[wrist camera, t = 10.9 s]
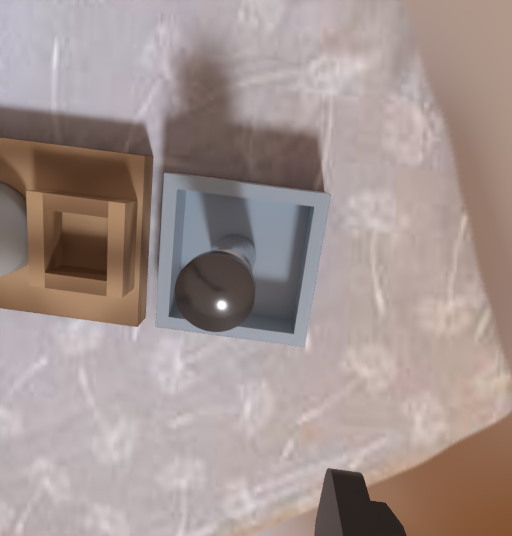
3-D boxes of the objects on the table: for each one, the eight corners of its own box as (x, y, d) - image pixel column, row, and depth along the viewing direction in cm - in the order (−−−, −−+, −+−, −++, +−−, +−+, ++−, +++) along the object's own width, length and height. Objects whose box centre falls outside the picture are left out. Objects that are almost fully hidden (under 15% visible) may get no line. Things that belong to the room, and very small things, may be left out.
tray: (177, 172, 30) (164, 173, 27) (324, 191, 30) (330, 194, 26) (167, 310, 33) (155, 326, 30) (301, 328, 33) (304, 347, 30)
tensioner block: (-41, 132, 30) (-96, 125, 26) (153, 156, 30) (131, 154, 26) (-29, 294, 34) (-74, 312, 30) (145, 317, 34) (125, 340, 29)
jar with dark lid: (209, 224, 31) (177, 250, 21) (265, 231, 30) (259, 261, 21) (204, 277, 32) (171, 326, 22) (258, 285, 32) (249, 337, 22)
